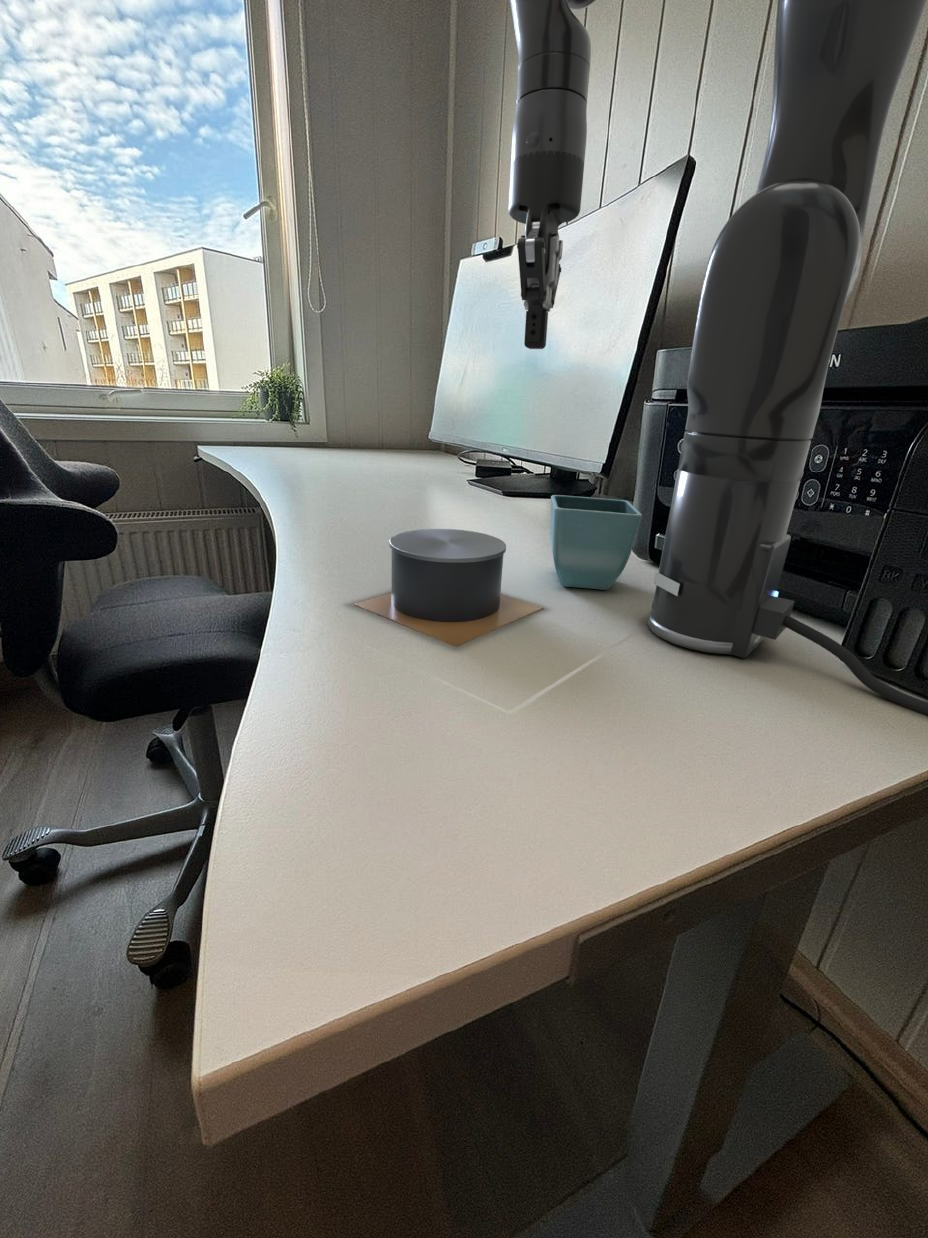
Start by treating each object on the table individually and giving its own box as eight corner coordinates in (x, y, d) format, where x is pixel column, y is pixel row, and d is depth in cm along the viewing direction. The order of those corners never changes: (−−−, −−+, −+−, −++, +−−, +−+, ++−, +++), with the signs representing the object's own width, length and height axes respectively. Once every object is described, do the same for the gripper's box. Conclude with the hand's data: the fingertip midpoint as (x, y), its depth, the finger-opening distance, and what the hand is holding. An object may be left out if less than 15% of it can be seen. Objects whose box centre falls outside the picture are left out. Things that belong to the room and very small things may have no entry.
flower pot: (616, 574, 68) (628, 498, 64) (629, 599, 59) (643, 514, 56) (542, 568, 68) (550, 493, 65) (545, 592, 60) (554, 508, 57)
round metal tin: (522, 600, 57) (527, 542, 55) (457, 633, 48) (460, 566, 46) (436, 577, 63) (438, 523, 60) (365, 602, 54) (364, 541, 52)
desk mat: (543, 609, 55) (543, 607, 55) (456, 647, 46) (456, 645, 46) (445, 577, 63) (445, 576, 63) (353, 605, 54) (353, 603, 54)
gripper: (576, 129, 51) (559, 342, 57) (590, 182, 63) (575, 353, 69) (495, 137, 53) (487, 342, 59) (524, 187, 65) (515, 353, 71)
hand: (534, 348), depth 64 cm, fingers closed
